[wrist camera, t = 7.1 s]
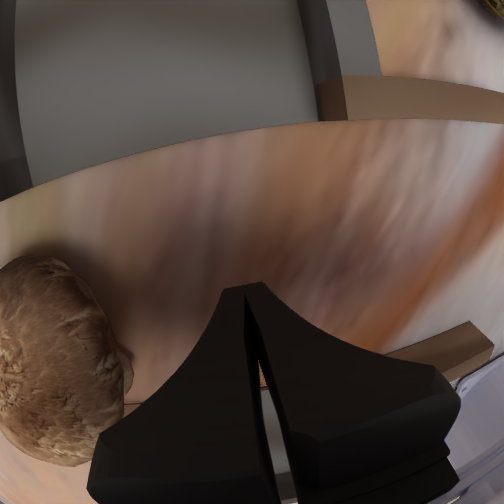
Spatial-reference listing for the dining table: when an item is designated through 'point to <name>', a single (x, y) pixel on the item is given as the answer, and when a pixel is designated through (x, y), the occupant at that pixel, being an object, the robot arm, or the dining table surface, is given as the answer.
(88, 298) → the mushroom
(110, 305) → the dining table surface
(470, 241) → the dining table surface
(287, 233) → the dining table surface
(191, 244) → the dining table surface
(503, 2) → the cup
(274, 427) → the grey brown flat frame
